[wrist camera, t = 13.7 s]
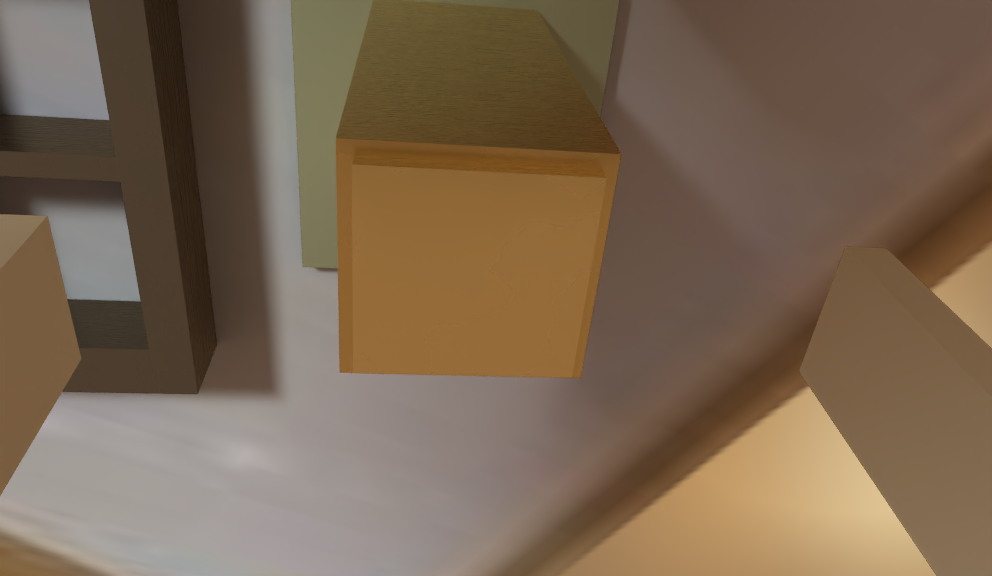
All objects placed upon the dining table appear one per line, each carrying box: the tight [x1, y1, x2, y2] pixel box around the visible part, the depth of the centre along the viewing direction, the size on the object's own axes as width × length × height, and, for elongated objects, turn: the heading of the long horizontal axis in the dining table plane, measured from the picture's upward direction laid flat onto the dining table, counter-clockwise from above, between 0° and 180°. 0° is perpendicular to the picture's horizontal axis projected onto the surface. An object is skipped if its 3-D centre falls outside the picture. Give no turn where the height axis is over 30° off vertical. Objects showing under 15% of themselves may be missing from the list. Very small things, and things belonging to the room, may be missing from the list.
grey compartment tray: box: [0, 0, 217, 394], centre depth 22 cm, size 24×9×3 cm, turn 175°
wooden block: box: [336, 0, 621, 378], centre depth 20 cm, size 5×5×12 cm
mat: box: [291, 0, 620, 268], centre depth 25 cm, size 14×10×1 cm
